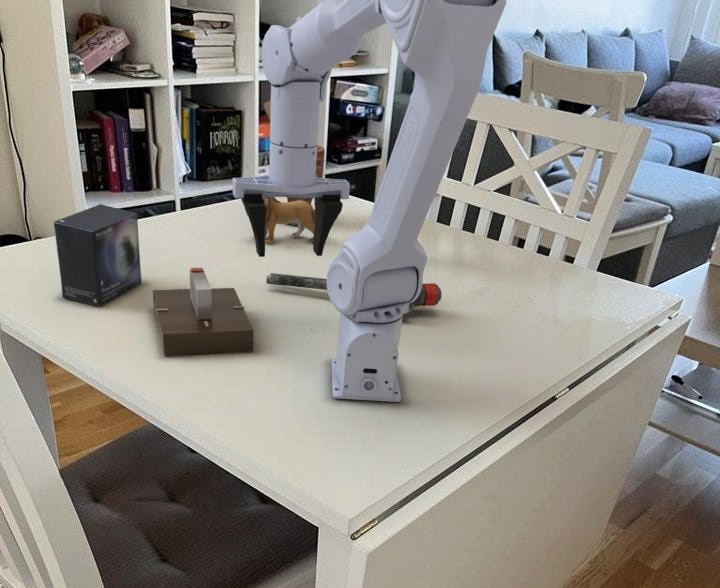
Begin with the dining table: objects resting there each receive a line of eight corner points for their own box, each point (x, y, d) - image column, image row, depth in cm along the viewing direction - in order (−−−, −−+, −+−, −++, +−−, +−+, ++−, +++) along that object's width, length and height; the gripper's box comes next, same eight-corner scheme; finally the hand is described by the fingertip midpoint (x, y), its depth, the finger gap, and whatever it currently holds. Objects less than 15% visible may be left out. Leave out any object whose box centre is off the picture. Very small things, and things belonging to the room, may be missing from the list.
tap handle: (212, 319, 95) (211, 287, 92) (197, 320, 94) (196, 287, 92) (204, 298, 100) (203, 267, 98) (190, 298, 100) (189, 267, 97)
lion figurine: (250, 248, 127) (250, 193, 122) (238, 238, 131) (238, 184, 126) (328, 242, 133) (331, 189, 128) (315, 232, 137) (318, 181, 132)
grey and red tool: (443, 303, 119) (435, 326, 106) (285, 286, 123) (258, 306, 109) (448, 262, 116) (441, 281, 103) (286, 245, 120) (258, 261, 106)
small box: (102, 308, 102) (93, 230, 96) (60, 298, 103) (49, 221, 97) (144, 284, 110) (139, 211, 104) (106, 275, 112) (98, 202, 106)
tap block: (254, 351, 95) (254, 328, 94) (163, 356, 92) (161, 332, 90) (234, 308, 106) (234, 286, 104) (152, 310, 103) (151, 288, 101)
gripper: (341, 137, 96) (334, 243, 104) (228, 133, 92) (228, 244, 100) (358, 150, 91) (348, 261, 99) (238, 147, 86) (238, 262, 94)
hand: (289, 253), depth 99 cm, fingers open, 7 cm apart
